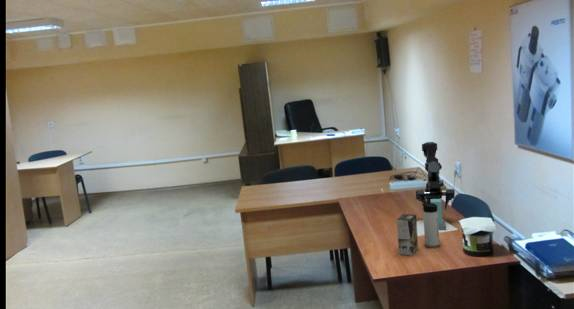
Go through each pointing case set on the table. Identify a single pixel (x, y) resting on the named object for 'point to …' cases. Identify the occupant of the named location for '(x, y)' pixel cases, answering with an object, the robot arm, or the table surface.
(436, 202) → the teal pillar block
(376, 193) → the table surface
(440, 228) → the snap base
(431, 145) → the robot arm
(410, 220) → the coffee box
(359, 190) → the table surface
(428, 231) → the travel mug
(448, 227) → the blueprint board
